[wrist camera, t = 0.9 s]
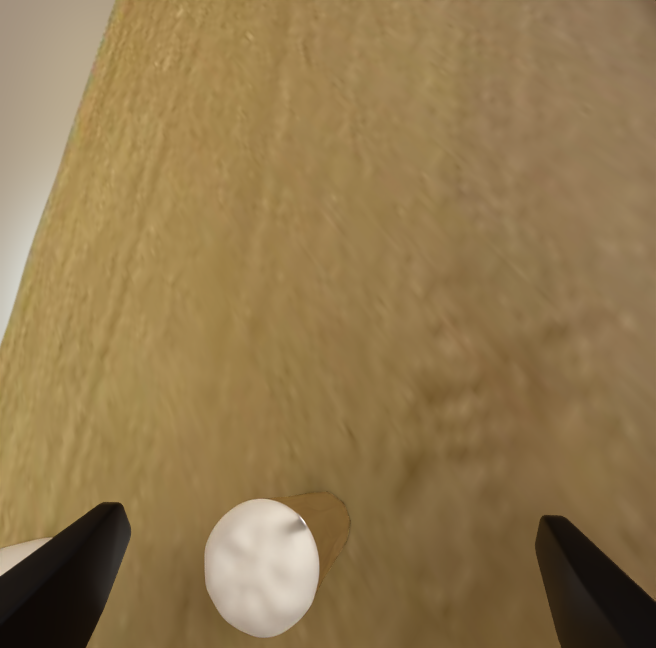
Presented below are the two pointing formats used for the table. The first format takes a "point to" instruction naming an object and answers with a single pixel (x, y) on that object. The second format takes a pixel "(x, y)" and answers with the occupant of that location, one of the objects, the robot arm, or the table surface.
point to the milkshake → (273, 559)
